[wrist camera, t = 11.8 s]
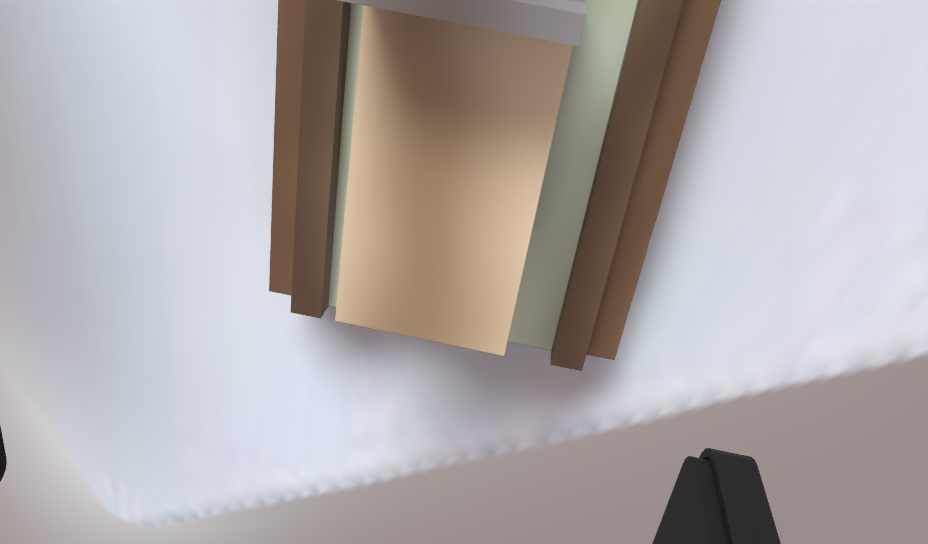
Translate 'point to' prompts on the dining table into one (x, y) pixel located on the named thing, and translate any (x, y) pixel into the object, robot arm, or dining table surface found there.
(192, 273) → the dining table surface
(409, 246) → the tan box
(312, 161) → the dock
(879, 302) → the dining table surface
